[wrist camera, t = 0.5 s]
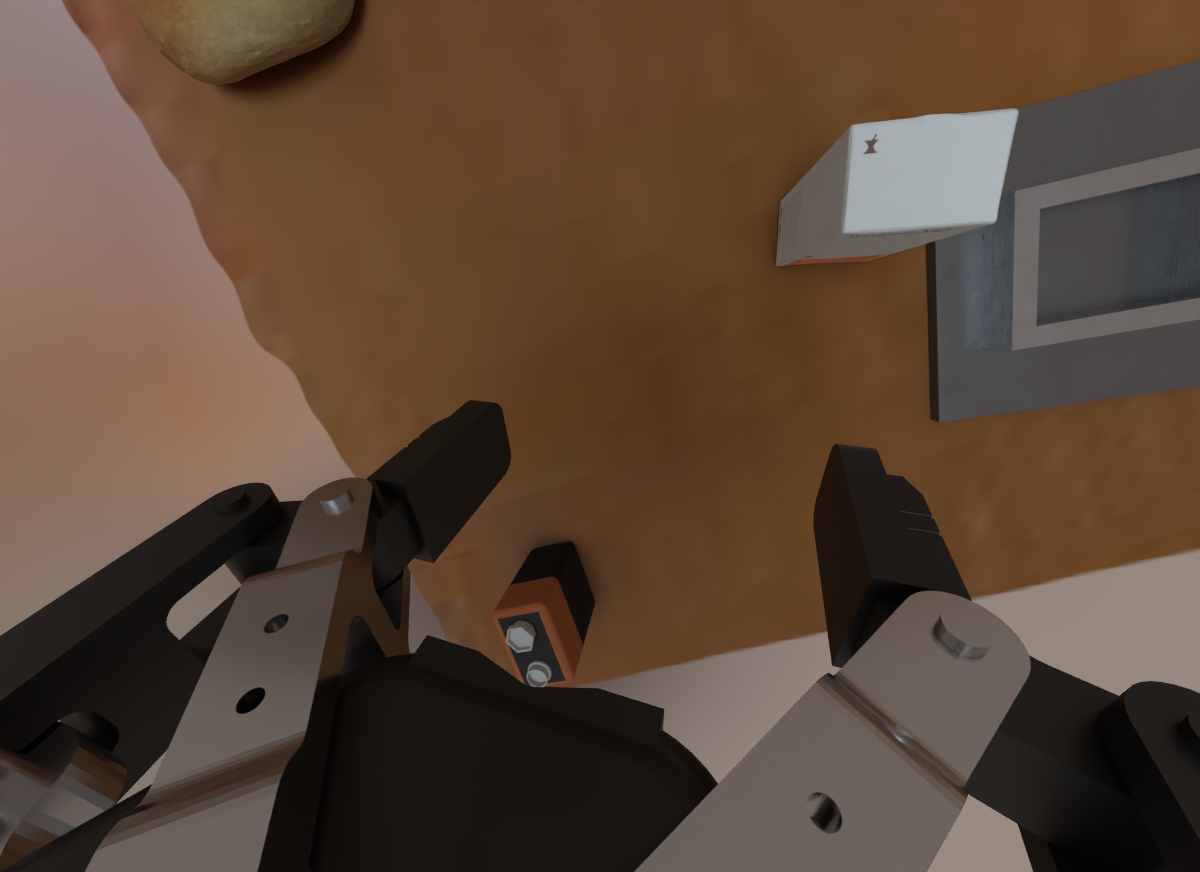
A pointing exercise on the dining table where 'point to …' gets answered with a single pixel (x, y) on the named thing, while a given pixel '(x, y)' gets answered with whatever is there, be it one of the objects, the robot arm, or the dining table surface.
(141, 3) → the bread roll
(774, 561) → the dining table surface
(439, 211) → the dining table surface
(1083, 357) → the grey box holder
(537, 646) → the battery
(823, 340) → the dining table surface
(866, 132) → the skincare box
